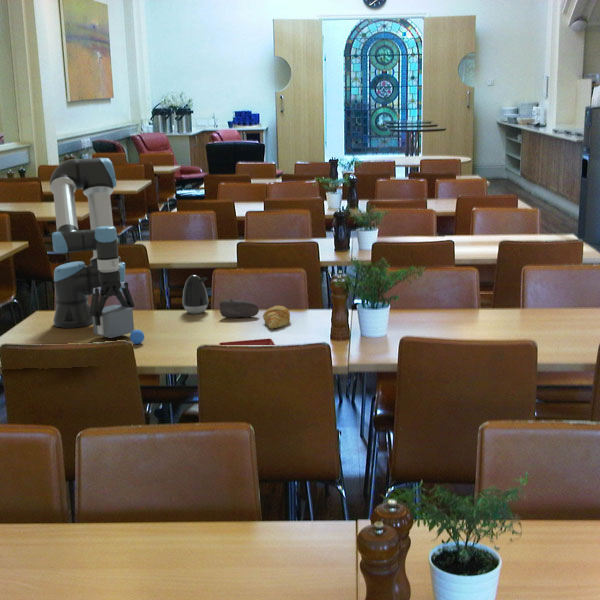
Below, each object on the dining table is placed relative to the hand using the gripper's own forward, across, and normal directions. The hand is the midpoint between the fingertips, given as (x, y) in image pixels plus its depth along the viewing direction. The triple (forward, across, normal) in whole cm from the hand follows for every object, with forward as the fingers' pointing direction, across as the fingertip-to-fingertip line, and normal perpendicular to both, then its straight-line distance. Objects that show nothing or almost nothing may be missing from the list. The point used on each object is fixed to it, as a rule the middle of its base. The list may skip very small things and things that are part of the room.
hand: (113, 330), depth 313 cm
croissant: (+3, +50, -33) cm, 60 cm away
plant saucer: (+3, +15, -55) cm, 57 cm away
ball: (0, 0, -14) cm, 14 cm away
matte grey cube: (+1, 0, 0) cm, 1 cm away
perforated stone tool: (+3, +47, -15) cm, 50 cm away
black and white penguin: (+2, +42, +5) cm, 43 cm away
